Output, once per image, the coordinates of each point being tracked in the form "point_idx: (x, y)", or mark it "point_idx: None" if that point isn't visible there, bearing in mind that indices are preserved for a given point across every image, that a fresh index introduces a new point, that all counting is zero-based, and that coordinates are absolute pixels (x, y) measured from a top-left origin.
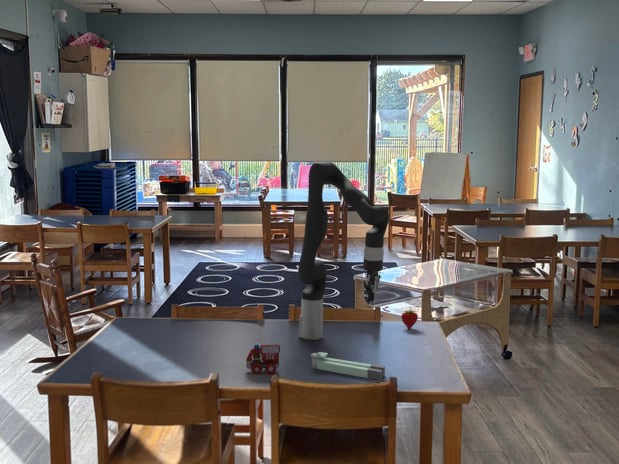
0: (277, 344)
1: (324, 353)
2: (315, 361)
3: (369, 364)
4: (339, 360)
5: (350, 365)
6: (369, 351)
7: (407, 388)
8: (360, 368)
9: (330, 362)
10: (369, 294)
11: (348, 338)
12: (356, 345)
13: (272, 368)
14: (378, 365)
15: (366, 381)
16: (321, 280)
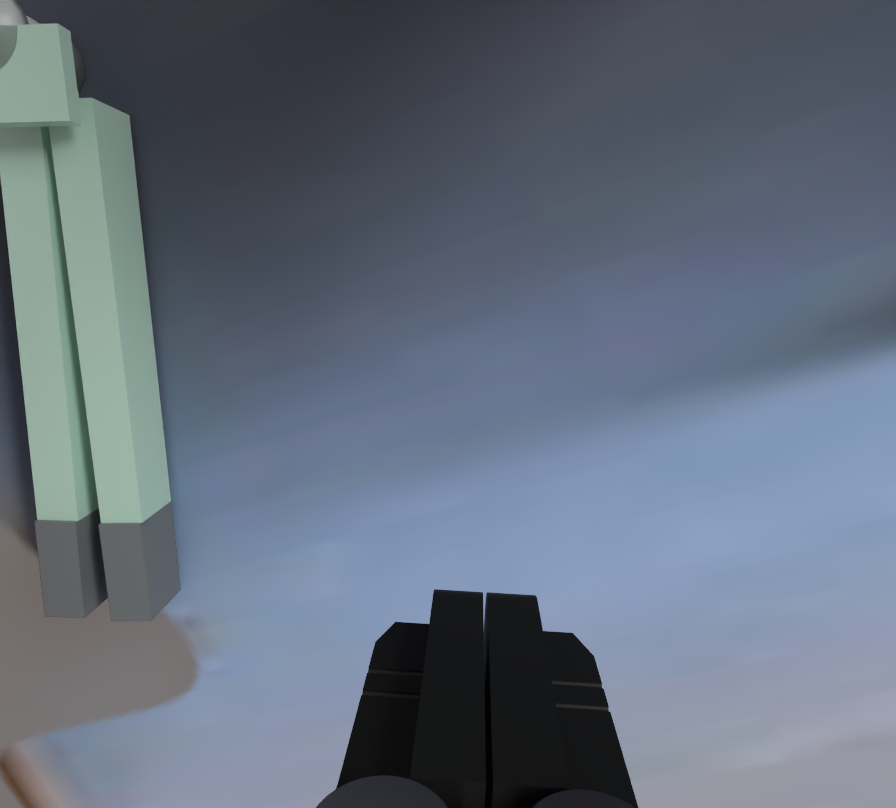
0: None
1: (43, 94)
2: None
3: (136, 504)
4: (89, 255)
5: (55, 372)
6: (608, 347)
7: (55, 757)
8: (39, 462)
9: (27, 194)
10: (345, 781)
11: (886, 52)
12: (715, 194)
13: None
14: (139, 575)
15: (18, 510)
16: None
